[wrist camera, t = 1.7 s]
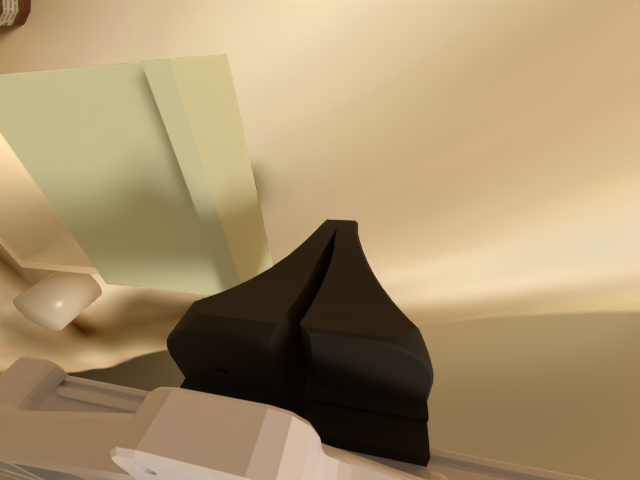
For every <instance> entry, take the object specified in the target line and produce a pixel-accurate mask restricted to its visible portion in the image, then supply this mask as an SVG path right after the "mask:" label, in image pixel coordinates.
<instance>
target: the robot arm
mask: <svg viewBox="0 0 640 480" xmlns="http://www.w3.org/2000/svg"><path fill="white" fill-rule="evenodd" d="M167 347H168V350H169V352H170V355H171V356H172V358H173V359H174V361H175V362H176V364H177V365H178V367H179V368H180V370H181V372H182V373H183V375H184V376H185V380H184V382H183V383H182V385H181V387H180V388H177V387H160V388H157V389H155V390H153V391H152V392H149V391H144V390H138V389H134V388H128V387H124V386H119V385H113V384H108V383H103V382H98V381H93V380H88V379H83V378H78V377H73V376H68V375H67V373H66V372H65V371H64V370H63V369H62V368H61V367H60V366H59V365H57V364H56V363H54V362H51V361H48V360H44V359H39V358H33V357H28V356H23V357H21V358H19V359H18V360H17V361H16V362H15V363H14V364H12V365H11V366H10V367H9V368H8V369H7V370H5V371H4V372H3V373H2V374H1V375H0V474H3V475H6V476H9V477H12V478H15V479H18V480H593V479H588V478H583V477H578V476H573V475H568V474H563V473H558V472H553V471H547V470H543V469H538V468H533V467H528V466H522V465H518V464H513V463H507V462H502V461H497V460H492V459H487V458H482V457H477V456H472V455H467V454H462V453H457V452H452V451H447V450H442V449H437V448H432V447H429V438H428V428H427V422H428V406H427V400H428V397H429V394H430V390H431V387H432V384H433V368H432V364H431V360H430V357H429V353H428V350H427V348H426V345H425V342H424V340H423V338H422V335H421V333H420V330H419V329H418V328H417V327H416V326H415V325H414V324H413V323H412V322H411V321H410V320H409V319H408V318H407V317H406V316H405V315H404V314H403V312H402V311H401V310H400V309H399V308H398V307H397V306H396V304H395V303H394V302H393V301H392V300H391V298H390V297H389V296H388V294H387V293H386V292H385V290H384V289H383V288H382V286H381V285H380V283H379V282H378V280H377V278H376V277H375V275H374V273H373V272H372V270H371V268H370V266H369V264H368V262H367V259H366V257H365V255H364V252H363V250H362V246H361V243H360V240H359V236H358V223H357V222H356V221H350V220H326V221H325V222H324V223H323V224H322V225H321V226H320V227H319V228H318V229H317V230H316V231H315V232H314V233H313V234H312V235H311V236H310V237H309V238H308V239H307V240H306V241H305V242H303V243H302V244H301V245H300V246H299V247H298V248H297V249H295V250H294V251H293V252H292V253H291V254H290V255H288V256H287V257H286V258H284V259H283V260H281V261H280V262H278V263H277V264H275V265H274V266H273V267H271V268H269V269H268V270H266V271H264V272H262V273H260V274H259V275H257V276H255V277H253V278H252V279H250V280H248V281H246V282H243V283H241V284H239V285H237V286H235V287H232V288H230V289H228V290H225V291H223V292H220V293H218V294H215V295H212V296H209V297H207V298H204V299H201V300H198V301H195V302H194V303H193V304H192V306H191V307H190V308H189V309H188V311H187V312H186V313H185V315H184V316H183V317H182V319H181V320H180V321H179V323H178V324H177V325H176V327H175V328H174V329H173V331H172V332H171V333H170V335H169V337H168V339H167Z"/></svg>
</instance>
